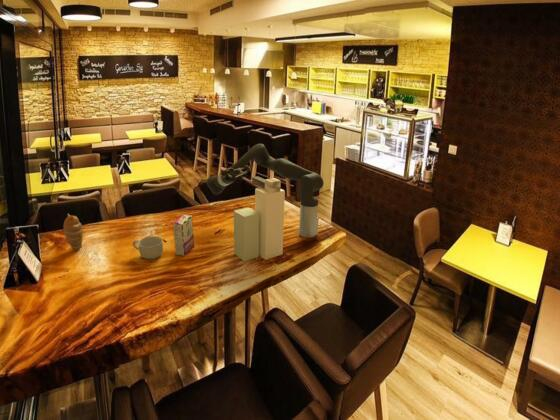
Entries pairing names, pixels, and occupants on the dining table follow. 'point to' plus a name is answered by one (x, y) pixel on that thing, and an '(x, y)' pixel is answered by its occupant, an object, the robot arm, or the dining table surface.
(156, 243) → the teacup
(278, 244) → the tall stand
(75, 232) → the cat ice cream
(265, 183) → the handle
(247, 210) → the grey green tall block
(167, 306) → the dining table surface
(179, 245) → the candy bar box
